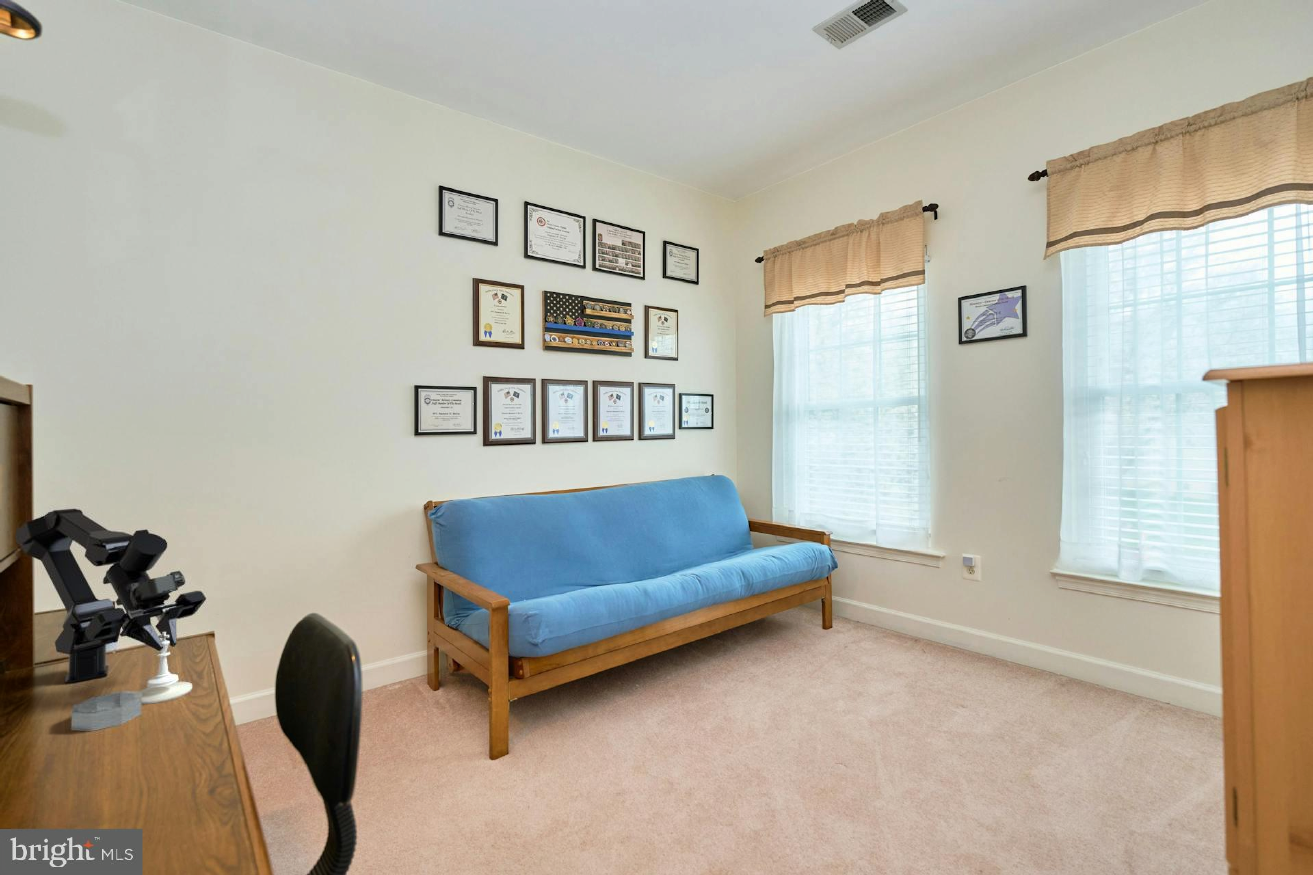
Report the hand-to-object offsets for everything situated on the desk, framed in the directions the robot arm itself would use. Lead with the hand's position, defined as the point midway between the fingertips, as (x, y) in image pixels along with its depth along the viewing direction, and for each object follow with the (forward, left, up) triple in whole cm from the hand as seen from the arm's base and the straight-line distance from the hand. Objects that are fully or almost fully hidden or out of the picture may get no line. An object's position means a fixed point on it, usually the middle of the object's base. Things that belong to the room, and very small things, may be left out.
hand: (168, 647), depth 118 cm
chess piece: (-1, -1, -7) cm, 8 cm away
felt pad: (-1, -1, -9) cm, 9 cm away
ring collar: (+6, -9, -9) cm, 14 cm away
